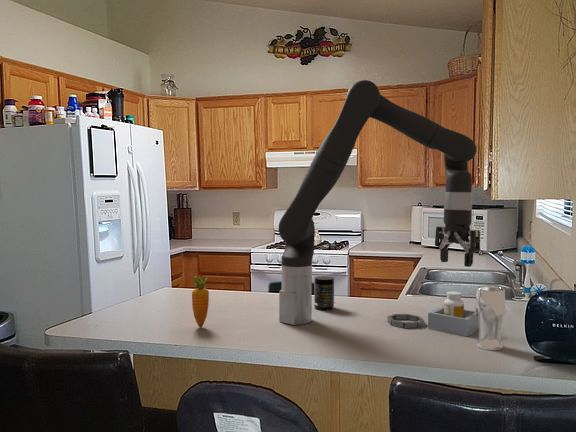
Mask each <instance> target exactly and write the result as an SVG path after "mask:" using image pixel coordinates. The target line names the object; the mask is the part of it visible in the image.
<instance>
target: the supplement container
mask: <svg viewBox="0 0 576 432" xmlns="http://www.w3.org/2000/svg"><path fill="white" fill-rule="evenodd" d="M313 287H314V289H313V290H314V291H313V292H314V296H313V297H314V301H313V302H314V303H313V304H314V308H315V309H316V310H318V311H332V310H333V309H334V308H335V276H329V275H318V276H314V286H313Z"/></svg>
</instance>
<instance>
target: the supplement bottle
mask: <svg viewBox="0 0 576 432" xmlns="http://www.w3.org/2000/svg"><path fill="white" fill-rule="evenodd" d="M446 297H447V298H446V299H445V300H444V305H443V306H444V315H449V316H455V317H460V318H464V309H465V302H464V301H463V300H462V292H459V291H447V292H446Z"/></svg>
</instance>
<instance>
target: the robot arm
mask: <svg viewBox="0 0 576 432" xmlns="http://www.w3.org/2000/svg"><path fill="white" fill-rule="evenodd" d="M369 118H370V119H374V120H376V121H378V122H381V123H383V124H385V125H388V126H389V127H391V128H393V129H394V130H396V131H398V132H399V133H400V134H402V135H404V136H406V137H407V138H409V139H411V140H413V141H414V142H416V143H419V144H421V145H422V146H424V147H426V148H428V149H431V150H436V151H438V152H441V153H443V164H444V170H445V176H446V177H445V194H444V200H443V203H444V204H443V223H444V226H436V227H435V235H434V237H435V238H434V246H435V247H438V248H439V249H440V253H439V258H440V262H441V263H447V262H449V247H450V246H451V245H452V244H456V245H457V244H458V245H460V247H462V248H463V250H464V252H465V253H464V266H463V267H467V268H469V267H472V265H473V263H474V254H475V253H477V252H480V251H481V231H480V230H479V229H472V230H471V224H472V218H473V217H472V216H473V213H472V212H473V195H472V194H473V193H472V189H473V187H472V186H473V178H472V177H473V176H472V174H471V172H469V163H468V162H469V161H471V160H473V158H474V157H475V156H476V154H477V149H478V148H477V145H476V143H475V142H474V140H473V139H471V138H470V137H469V136H467V135H465V134H463V133H460V132H458V131H456V130H455V131H454V130H452V129H449V128H446V127H444V126H442V125H440V124H439V123H437V122H435V121H433V120H431V119H430V118H428V117H425V116H423V115H422V114H419V113H416V111H412V110H409V109H407V108H405V107H402V106H400V105H398V104H396V103H395V102H393V101H391V100H389V99H388V98H387V97H385V96H384V95H382V94H381V93H380V90H379V87H378V86H377V85H376V83H374V82H373V81H372V80H368V79H361V80H358V81H357V82H354V83H353V84H352V85H351V86H350V87H349V88H348V91H347V93H346V96H345V100H344V103H343V105H342V108H341V110H340V113H339V115H338V117H337V120H336V121H335V123H334V124H333V127H331V129H330V130H329V132H328V133H327V135H326V136H325V138H324V140H323V141H322V142H321V144H320V146H319V148H318V149H317V151H316V153H315V155H314V157H313V159H312V161H311V162H310V165H309V168H308V169H307V172H306V174H305V175H304V177H303V179H302V181H301V184H300V186H299V189H298V191H297V193H296V194H295V196H294V198H293V200H292V201H291V203H290V204H289V206H288V207H287V209H286V211H285V212H284V214H283V215H282V217H281V219H280V221H279V223H278V235H279V237H280V238H281V239H282V240H283V241H284V242H285V245H284V246H285V248H284V252H283V254H282V255H281V289H280V290H279V292H278V293H279V297H278V299H279V303H278V306H279V309H278V314H279V315H278V322H280V323H284V324H288V325H292V326H297V325H306V324H309V323H311V322H312V312H313V311H312V309H313V308H312V307H313V306H312V305H313V303H312V302H313V301H312V300H313V299H312V296H313V295H312V294H313V293H312V292H313V291H312V290H313V277H312V276H313V257H314V254H315V236H316V234H315V223H314V219H313V218H314V215H315V214H316V211H317V208H318V207H319V205H320V204H321V202H322V201H323V200H324V199H325V197H326V196H327V195H329V193H330V192H331V190H332V189H333V188H334V187H335V186H336V184H337V182H338V181H339V179H340V177H341V175H342V174H343V171H344V170H345V167H346V166H347V164H348V162H349V159H350V157H351V154H352V153H353V151H354V150H353V149H354V147H355V145H356V142H357V140H358V138H359V135H360V133H361V132H362V129H363V128H364V126H365V125H366V123H367V122H368V120H369Z"/></svg>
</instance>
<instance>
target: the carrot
mask: <svg viewBox="0 0 576 432" xmlns="http://www.w3.org/2000/svg"><path fill="white" fill-rule="evenodd" d="M193 279H194V281H195V283H193V285H194V286H195V287H196V288H194V289H193V290H192V293H191V303H192V306H191V307H192V311H193V318H194V319H195V320H194V321H195V322H196V324H197V327H199V328H202V327H203V326H204V324H205V321H206V319H207V315H208V310H209V302H210V300H209V299H210V296H209V295H210V291H209V289H208V288H205V286H206V284H207V282H208V281H209V278H208V277H206V278H205V279H204V280H202V277H198V276H196V275H195V276H194V277H193Z"/></svg>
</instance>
